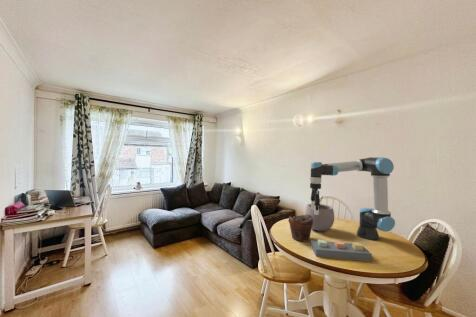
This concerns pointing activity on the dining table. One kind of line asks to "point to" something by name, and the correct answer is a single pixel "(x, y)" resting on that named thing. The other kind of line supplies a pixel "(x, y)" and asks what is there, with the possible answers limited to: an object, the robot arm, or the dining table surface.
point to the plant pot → (321, 217)
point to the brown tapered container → (301, 227)
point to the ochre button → (357, 246)
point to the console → (341, 252)
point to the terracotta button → (339, 244)
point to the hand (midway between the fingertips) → (314, 212)
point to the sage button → (322, 243)
